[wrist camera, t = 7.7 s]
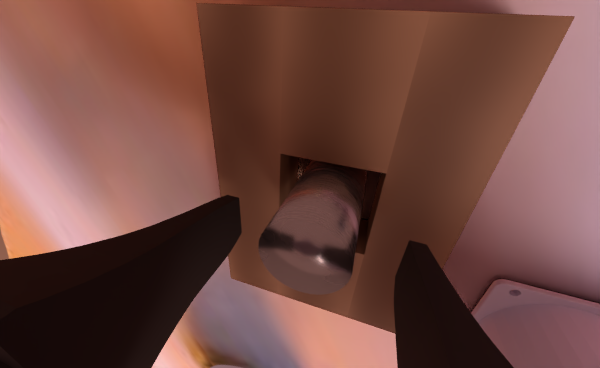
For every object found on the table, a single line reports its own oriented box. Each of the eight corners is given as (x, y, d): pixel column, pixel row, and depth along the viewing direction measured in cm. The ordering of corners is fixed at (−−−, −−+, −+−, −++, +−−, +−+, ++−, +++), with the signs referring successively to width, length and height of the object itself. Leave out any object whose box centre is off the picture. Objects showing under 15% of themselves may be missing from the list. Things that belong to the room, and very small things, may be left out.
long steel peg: (374, 156, 13) (366, 241, 7) (356, 206, 15) (337, 306, 9) (315, 139, 14) (262, 205, 8) (304, 189, 15) (254, 274, 10)
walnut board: (523, 25, 9) (574, 16, 7) (404, 295, 17) (406, 337, 15) (237, 12, 12) (196, 3, 9) (250, 249, 20) (231, 278, 17)
